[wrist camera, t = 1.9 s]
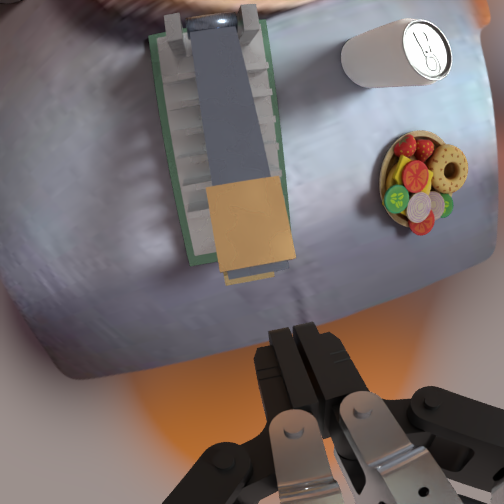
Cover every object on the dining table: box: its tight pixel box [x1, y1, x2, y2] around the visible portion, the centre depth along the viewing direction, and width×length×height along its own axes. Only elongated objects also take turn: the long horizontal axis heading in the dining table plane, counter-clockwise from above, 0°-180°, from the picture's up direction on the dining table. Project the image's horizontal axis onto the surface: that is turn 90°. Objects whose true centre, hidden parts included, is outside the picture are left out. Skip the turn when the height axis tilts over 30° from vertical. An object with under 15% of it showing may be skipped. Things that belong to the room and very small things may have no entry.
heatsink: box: [148, 4, 291, 286], centre depth 28 cm, size 26×12×9 cm, turn 8°
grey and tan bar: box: [185, 12, 296, 280], centre depth 20 cm, size 21×4×2 cm, turn 7°
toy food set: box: [379, 130, 468, 235], centre depth 35 cm, size 13×13×3 cm
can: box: [341, 18, 452, 88], centre depth 24 cm, size 6×6×12 cm
